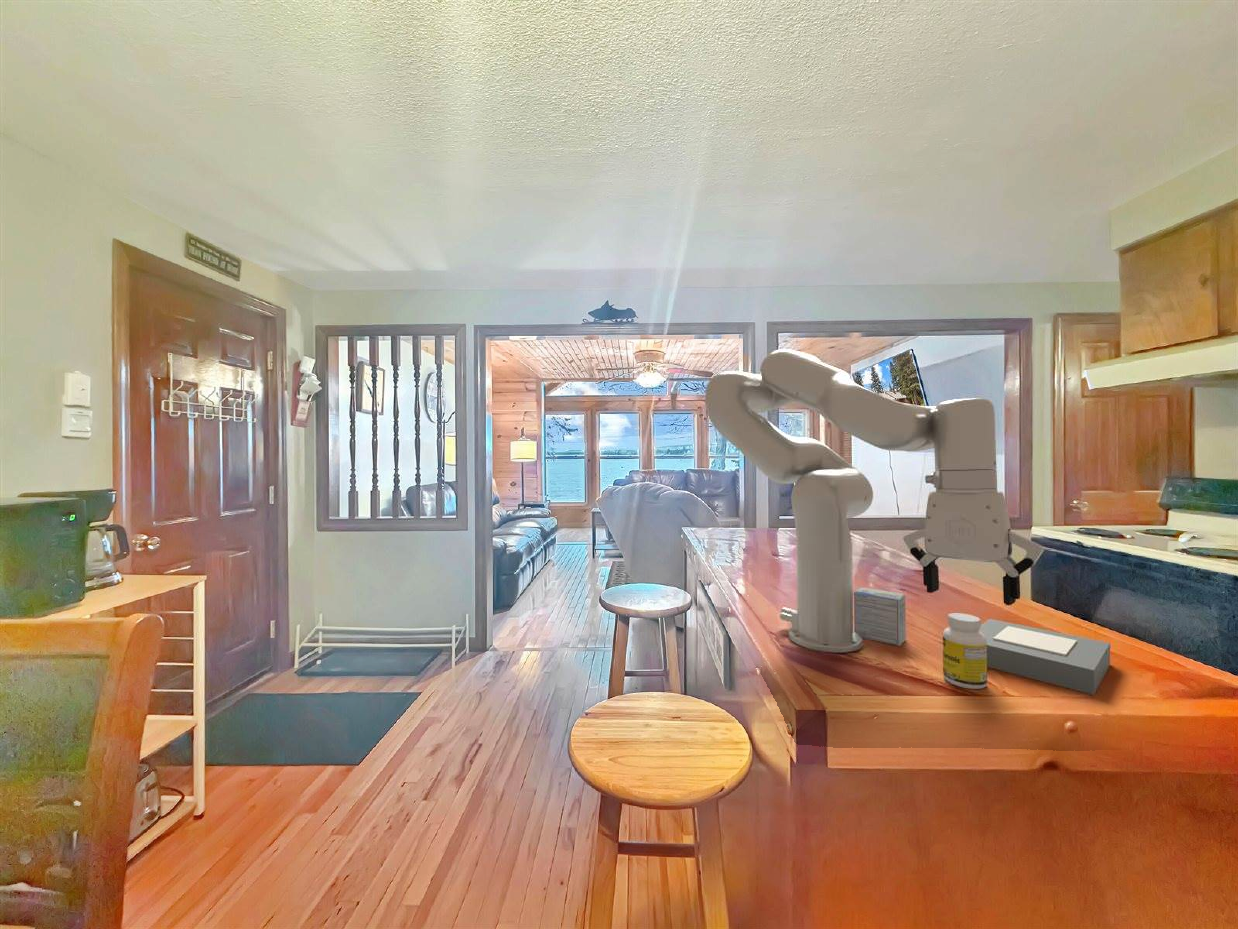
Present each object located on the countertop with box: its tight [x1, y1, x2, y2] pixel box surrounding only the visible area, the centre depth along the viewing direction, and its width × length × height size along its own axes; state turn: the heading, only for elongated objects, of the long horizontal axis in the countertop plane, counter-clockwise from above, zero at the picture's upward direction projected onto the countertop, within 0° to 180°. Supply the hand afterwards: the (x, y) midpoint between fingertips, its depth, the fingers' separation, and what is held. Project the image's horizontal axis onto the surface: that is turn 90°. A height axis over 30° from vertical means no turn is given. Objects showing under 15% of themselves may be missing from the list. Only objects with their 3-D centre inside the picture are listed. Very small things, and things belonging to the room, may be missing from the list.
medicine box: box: [853, 587, 907, 647], centre depth 91 cm, size 8×4×9 cm, turn 47°
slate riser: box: [979, 618, 1111, 696], centre depth 80 cm, size 16×16×4 cm
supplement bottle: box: [942, 612, 988, 690], centre depth 73 cm, size 5×5×10 cm
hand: (969, 597), depth 73 cm, fingers open, 9 cm apart
